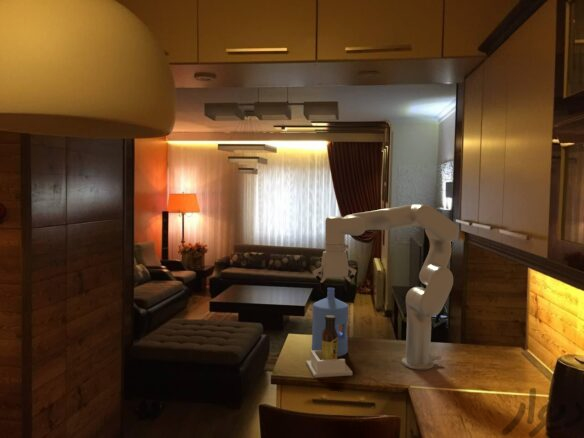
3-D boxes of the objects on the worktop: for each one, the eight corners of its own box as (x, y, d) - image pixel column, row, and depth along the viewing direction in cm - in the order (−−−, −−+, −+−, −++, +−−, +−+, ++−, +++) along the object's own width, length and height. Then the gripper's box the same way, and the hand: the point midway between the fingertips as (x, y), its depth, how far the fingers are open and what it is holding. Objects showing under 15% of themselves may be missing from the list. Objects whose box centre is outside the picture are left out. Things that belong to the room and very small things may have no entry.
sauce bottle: (336, 370, 176) (337, 319, 175) (320, 368, 177) (321, 318, 176) (338, 363, 183) (339, 314, 181) (322, 362, 184) (323, 313, 183)
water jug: (307, 355, 194) (308, 290, 193) (316, 344, 209) (317, 283, 208) (343, 360, 190) (345, 293, 188) (350, 348, 205) (351, 286, 203)
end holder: (341, 361, 188) (342, 348, 188) (352, 375, 175) (352, 360, 174) (306, 363, 186) (306, 349, 185) (314, 377, 172) (314, 362, 171)
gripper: (353, 246, 183) (352, 288, 184) (311, 247, 180) (311, 290, 181) (359, 248, 176) (359, 292, 177) (315, 250, 172) (315, 294, 174)
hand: (334, 291), depth 179 cm, fingers open, 9 cm apart
